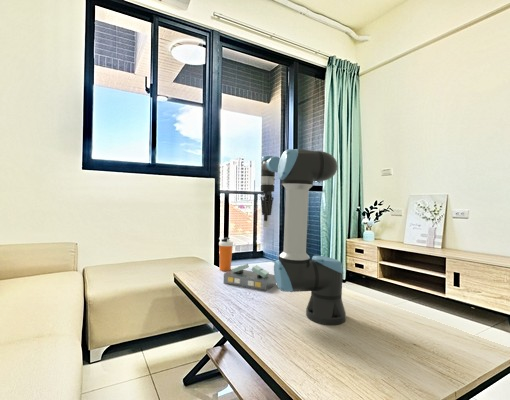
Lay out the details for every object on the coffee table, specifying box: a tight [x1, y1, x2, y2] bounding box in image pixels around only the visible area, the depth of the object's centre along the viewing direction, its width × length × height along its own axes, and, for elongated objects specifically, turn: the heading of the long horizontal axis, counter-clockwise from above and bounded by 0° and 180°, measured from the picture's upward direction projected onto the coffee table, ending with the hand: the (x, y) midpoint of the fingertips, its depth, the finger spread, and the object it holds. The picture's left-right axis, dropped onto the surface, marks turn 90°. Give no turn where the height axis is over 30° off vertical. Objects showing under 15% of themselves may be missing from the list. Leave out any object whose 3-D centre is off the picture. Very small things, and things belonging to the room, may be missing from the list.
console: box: [223, 269, 277, 292], centre depth 149 cm, size 13×25×6 cm, turn 64°
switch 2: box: [251, 264, 270, 278], centre depth 146 cm, size 5×8×2 cm, turn 64°
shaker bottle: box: [218, 237, 234, 272], centre depth 177 cm, size 9×9×20 cm
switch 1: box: [231, 263, 250, 273], centre depth 151 cm, size 5×8×2 cm, turn 64°
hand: (266, 226), depth 154 cm, fingers closed
